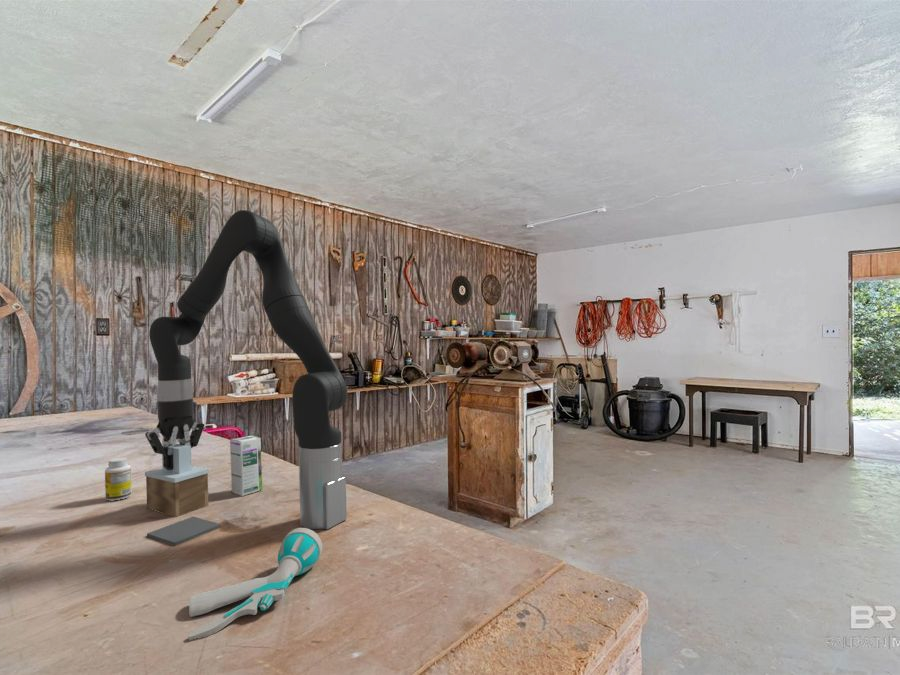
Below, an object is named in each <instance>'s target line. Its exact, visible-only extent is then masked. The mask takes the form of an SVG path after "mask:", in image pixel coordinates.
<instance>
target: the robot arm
mask: <svg viewBox="0 0 900 675" xmlns="http://www.w3.org/2000/svg"><path fill="white" fill-rule="evenodd" d="M242 252H246V253H248V254H251V255H252V256H253V257H254V259H255V261H256V263H257V265H258V267H259V269H260V271H261V274H262V277H263V278H262V279H263V286H262V294H261V295H262V298H261V300H262V301H261V302H262V306H263V308H264V309H263V310H264V312H265V314H266V316H267V319H268V321H269V323H270V326H271V328H272V329H273V332H274V333H275V334H276V335H277V337H278V338H279V339H280V340H281V341H282V342H283V343H284V344H286V346H288V347H289V349H290V350H291V351H293V352H294V354H295V355H296V356H298V358H299V360H300V361H301V362H302V365H303V366H304V368H305V370H306V372H307V373H306V374H303V375H301V376H299V377H298V378H297V379H296V381H295V383H294V385H293V389H292V397H291V398H292V399H291V400H292V412H293V413H292V415H293V426H294V432H295V434H296V437H297V439H298V440H297V441H298V470H299V471H298V473H299V474H298V475H299V478H298V479H299V481H298V482H299V514H300V515H299V516H300V518H299V519H300V521H299V523H300V526H301V527H302V528H307V529H310V530H313V529H314V530H319V529H320V530H321V529H325V530H328V529H331V528H333V527H334V526H336V525H338V524H340V523H342V522H344V521H345V520H347V519H348V517H347V479H346V476H343V454H342V453H343V450H342V449H343V448H342V445H343V444H342V431H341V430H340V429H339V428H336V427H333V426H332V425H331V421H330V412H333V411H337V410H338V409H341V408H343V406H344V405H345V404H346V401H347V397H348V387H347V383H346V381H345V379H344V377H343V375H342V373H341V371H340V369H339V367H338V366H337V365H336V362H335V361H334V359H333V357H332V356H331V353H330V352H329V351H328V348H327V347H326V344H325V342H324V339H323V337H322V336H321V333H320V331H319V329H318V327H317V325H316V323H315V321H314V317H313V315H312V314H311V311H310V308H309V306H308V303H307V301H306V298H305V297H304V295H303V293H302V291H301V288H300V286H299V284H298V281H297V278H296V277H295V275H294V273H293V270H292V268H291V267H290V263H289V261H288V257H287V255H286V252H285V248H284V244H283V242H282V238H281V235H280V232H279V230H278V229H277V227H276V225H275V224H274V223H273V222H271V220H269V219H267V218H266V217H263V216H261V215H259V214H257V213H255V212H253V211H251V210H246V209H240V210H238V211H236V212H234V213H233V214H231V216H230V217H229V218H228V220H227V221H226V223H225V224H224V226H223V227H222V230H221V232H220V233H219V234H218V237H217V238H216V241H215V243H214V245H213V247H212V248H211V251H210V252H209V254H208V255H207V258H206V260H205V261H204V264H203V266H202V268H200V270H199V272H198V273H197V275H196V277H195V278H194V279H193V280H192V282H191V283H190V284H189V285H188V287H186V289H185V291H183V293H182V294H181V295H180V296H179V299H178V300H177V303H176V305H177V306H176V307H177V309H178V310H179V312H180V314H179V315H178V317H175V316H160V317H157V318H156V319H154V320H153V321H152V322H151V324H150V328H149V331H148V332H149V333H148V336H149V337H148V338H149V342H150V345H151V347H152V351H153V354H154V357H155V359H156V362H157V380H158V381H157V388H156V389H157V390H156V391H157V392H156V400H157V401H156V402H157V404H156V405H157V419H158V423H157V425H156V428H154V429H153V430H151V431H146V432H145V433H144V435H145V438H146V440H147V441H148V443H149V445H150V447H151V449H152V451H153V452H154V454H159V455H161V456H162V455H163V466H164V468H166V470H173V455H172V453H173V447H174V445H175V444H176V443H177V442H176V440H177V441H178V444H180V445H187V446H191V449H193V448H195V447H197V446H198V445H199V442H200V438H201V436H202V433H203V432H204V428H205V423H202V422H197V421H196V422H195V420H194V418H193V416H194V394H193V393H194V391H193V390H194V387H193V382H192V363H191V362H192V361H191V358H190V357H189V356H187V355H183V354H181V352H180V349H179V346H186V345H188V344H191V343H193V341H194V340H195V339H196V338H197V337H198V336H199V334H200V332H201V330H202V327H203V325H204V323H205V320H206V318H207V315H208V314H209V313H210V312H211V311H212V309H213V308H214V307H215V306H216V305H217V303H218V302H219V300H220V298H221V297H222V295H223V293H224V291H225V288H226V283H227V278H228V274H229V271H230V267H231V266H232V264H233V262H234V261H235V259H236V258H237V257H239V255H240V254H241V253H242ZM190 431H191V433H190ZM160 435H162V441H161V440H160V439H159V438H160Z"/></svg>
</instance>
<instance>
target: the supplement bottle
mask: <svg viewBox="0 0 900 675" xmlns="http://www.w3.org/2000/svg"><path fill="white" fill-rule="evenodd" d="M104 479H105V480H104V482H105V483H104V486H105V489H104V490H105V500H106V501H108V500H109V501H108V502H115V501H114V500H118V501H121V500H120V499H123V500H126V499H128V498H130V497H131V496H132V494H133V493H132V489H133V488H132V466H131V465H130V464H128V458H127V457H116V458H111V459H109V460H108V467H106V468H105V469H104ZM125 498H126V499H125Z"/></svg>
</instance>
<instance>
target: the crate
mask: <svg viewBox="0 0 900 675" xmlns="http://www.w3.org/2000/svg"><path fill="white" fill-rule="evenodd" d="M145 477H146V478H145V480H146V484H145V485H146V488H145V489H146V490H145V491H146V509H147V508H150V509H153V510H152V511H154V510H156V511H155V512H157V511H159V512H158V513H161V512H162V513H161V514H164V513H165V514H164V515H168V516H171V517H179V516H183V515H185V514H188V513H190V512H194V511H196V510H199V509H202V508H204V507H207V505H208V506H209V480H208V478H209V473H207V474H204V475H200V476H197V477H193V478H190V479H186V480H183V481H180V482H176V483H173V482H169V481H164V480H160V479H156V478H151V477H147V476H145ZM150 509H149V510H150Z"/></svg>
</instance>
